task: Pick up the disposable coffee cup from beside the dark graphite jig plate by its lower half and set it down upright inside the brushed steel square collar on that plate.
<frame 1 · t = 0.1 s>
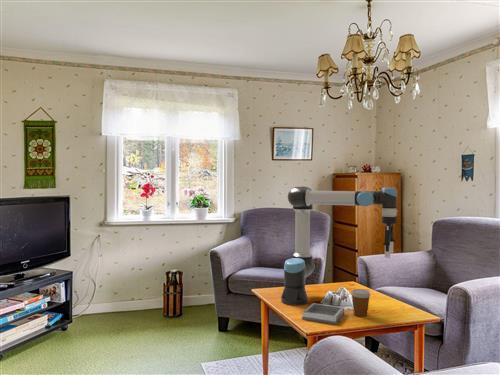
hand: (389, 255, 218), 28 cm above the table, tool pointing down, fingers open, 13 cm apart
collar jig: (323, 316, 202), on the table
disposable coffee cup: (360, 315, 205), on the table
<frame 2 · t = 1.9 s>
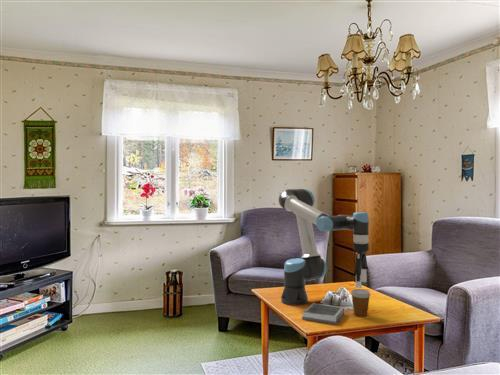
hand: (361, 284, 204), 15 cm above the table, tool pointing down, fingers open, 13 cm apart
nothing on the table moved.
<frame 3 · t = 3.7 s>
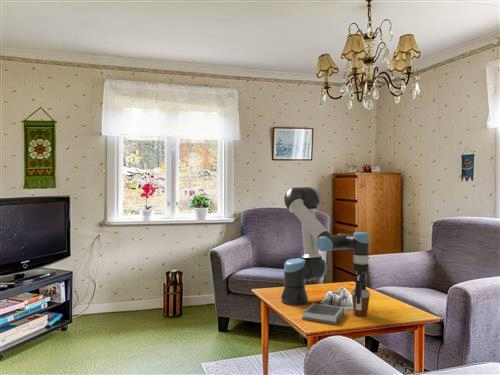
hand: (360, 306, 205), 4 cm above the table, tool pointing down, fingers closed on disposable coffee cup, 9 cm apart
disposable coffee cup: (360, 315, 205), on the table, touching gripper
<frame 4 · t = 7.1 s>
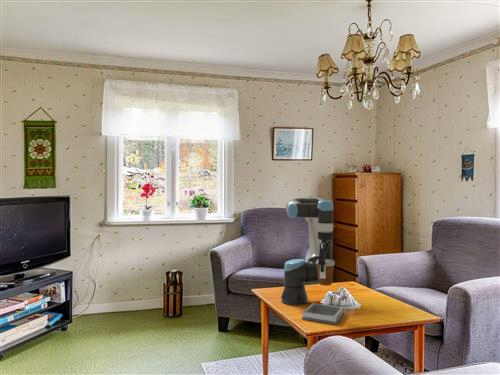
hand: (325, 276, 202), 20 cm above the table, tool pointing down, fingers closed on disposable coffee cup, 9 cm apart
disposable coffee cup: (325, 284, 202), point 16 cm above the table, touching gripper
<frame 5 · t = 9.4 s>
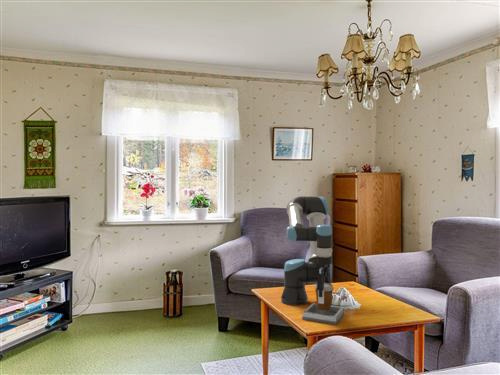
hand: (323, 300, 202), 8 cm above the table, tool pointing down, fingers closed on disposable coffee cup, 9 cm apart
disposable coffee cup: (323, 309, 202), point 4 cm above the table, touching gripper
when the fingers open (7 cm above the table, at t = 10.7 s): disposable coffee cup drops 1 cm, resting on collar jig.
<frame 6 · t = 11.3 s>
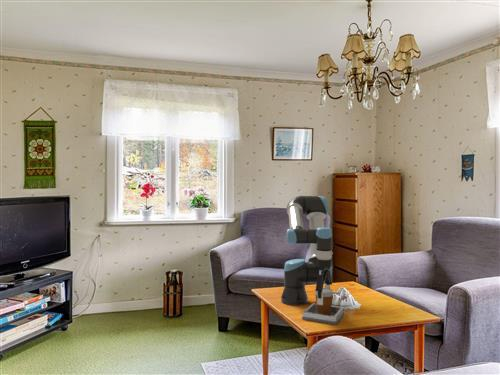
hand: (323, 300, 202), 8 cm above the table, tool pointing down, fingers open, 13 cm apart
disposable coffee cup: (324, 314, 202), point 1 cm above the table, touching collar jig
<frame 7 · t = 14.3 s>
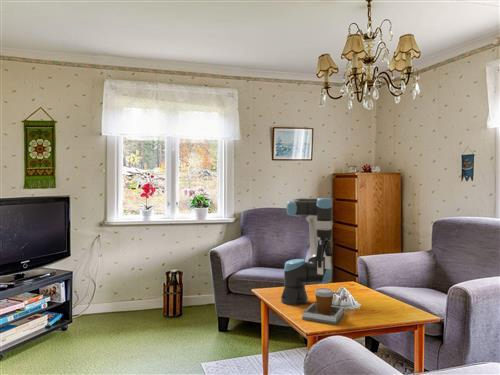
hand: (324, 271, 202), 23 cm above the table, tool pointing down, fingers open, 13 cm apart
nothing on the table moved.
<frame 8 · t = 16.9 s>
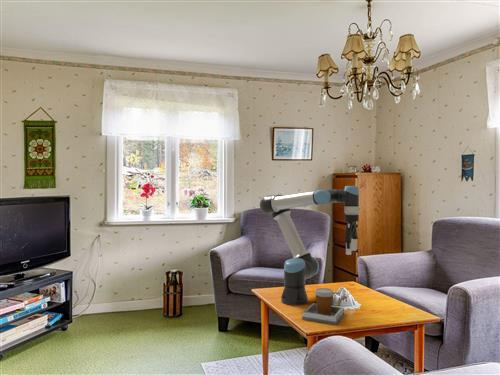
hand: (351, 252, 222), 29 cm above the table, tool pointing down, fingers open, 13 cm apart
nothing on the table moved.
at the end: disposable coffee cup 0.2 cm off-centre on the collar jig, point 1.0 cm above the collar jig's base; disposable coffee cup tilted 0°; the gripper is holding nothing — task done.
